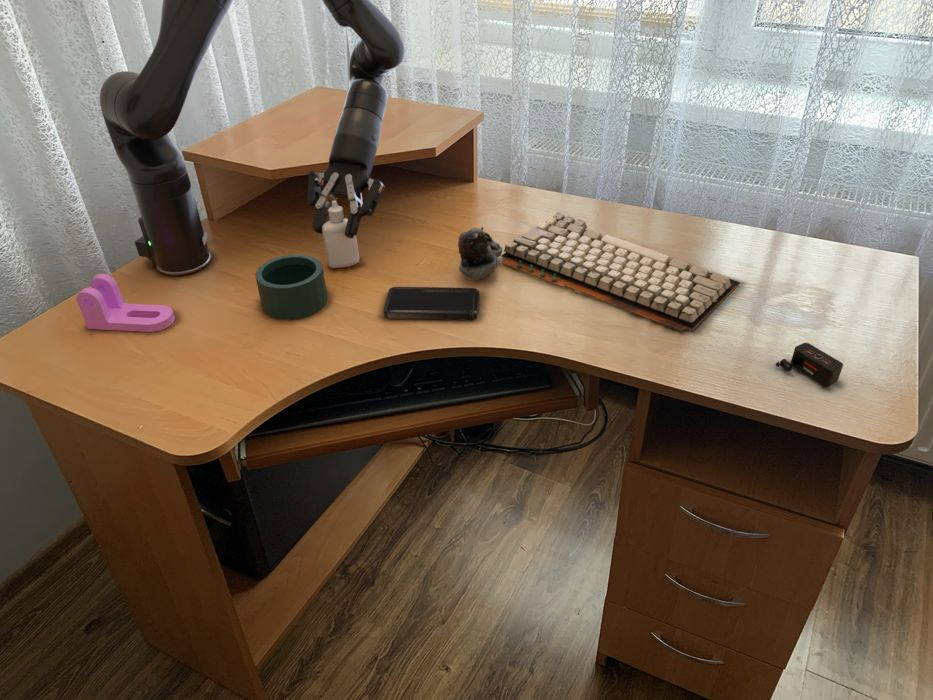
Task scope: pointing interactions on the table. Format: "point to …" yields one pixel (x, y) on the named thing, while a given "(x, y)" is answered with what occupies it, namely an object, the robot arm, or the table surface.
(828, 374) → the wireless earbuds
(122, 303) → the bracket
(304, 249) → the table surface
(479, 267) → the bison figurine
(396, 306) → the phone
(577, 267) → the mechanical keyboard
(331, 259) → the eye dropper bottle
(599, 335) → the table surface
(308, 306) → the green short hollow cylinder
